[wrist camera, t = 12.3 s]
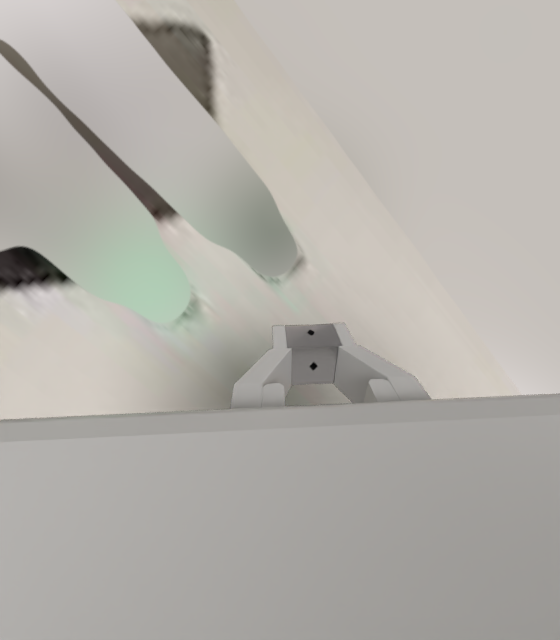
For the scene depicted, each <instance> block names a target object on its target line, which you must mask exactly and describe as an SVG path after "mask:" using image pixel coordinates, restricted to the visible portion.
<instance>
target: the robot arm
mask: <svg viewBox="0 0 560 640" xmlns="http://www.w3.org/2000/svg"><path fill="white" fill-rule="evenodd" d="M272 339H273V349H269V350H268V351H267V352H266V353H265V354H264V355H263V356H262V357H261V358H260V359H259V360H258V361H257V362H256V363H255V364H254V365H253V366H252V367H251V368H250V369H249V370H248V371H247V372H246V373H245V374H244V375H243V376H242V377H241V378H240V379H239V380H238V381H237V382H236V383H235V384H234V388H233V394H232V400H231V406H230V409H218V410H197V411H175V412H153V413H132V414H110V415H89V416H67V417H46V418H24V419H2V420H0V640H560V394H538V395H517V396H496V397H476V398H454V399H431V398H430V397H429V395H428V394H427V392H426V391H425V390H424V388H423V387H422V385H421V384H420V383H419V381H418V380H417V378H416V377H415V376H413V375H412V374H410V373H408V372H406V371H405V370H403V369H401V368H399V367H397V366H396V365H394V364H392V363H390V362H389V361H387V360H385V359H383V358H382V357H380V356H378V355H376V354H375V353H373V352H371V351H369V350H368V349H366V348H364V347H362V346H361V345H359V346H357V345H356V343H355V341H354V339H353V337H352V335H351V333H350V332H349V330H348V328H347V326H346V324H345V323H333V324H318V325H285V326H284V325H276V326H272ZM326 383H334V385H335V386H336V387H337V388H338V389H339V390H340V391H341V392H342V393H343V394H344V395H345V396H346V397H347V398H348V399H349V400H350V401H351V402H352V403H347V404H326V405H305V406H286V404H285V396H286V395H287V393H288V391H289V390H290V388H291V385H302V384H326Z"/></svg>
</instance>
